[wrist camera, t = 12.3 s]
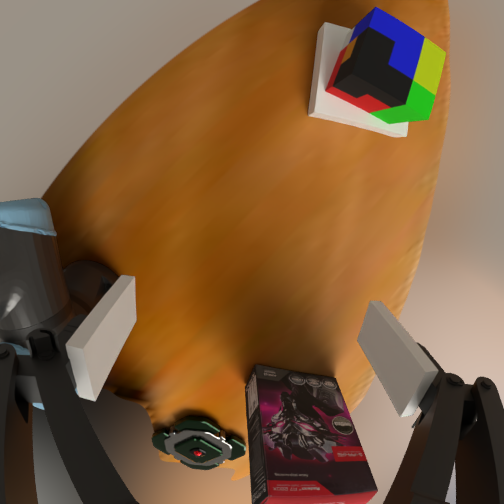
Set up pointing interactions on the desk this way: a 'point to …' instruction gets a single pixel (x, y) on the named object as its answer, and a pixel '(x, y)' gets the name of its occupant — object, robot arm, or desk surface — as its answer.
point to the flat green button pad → (198, 443)
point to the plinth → (331, 105)
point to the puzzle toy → (387, 69)
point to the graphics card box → (303, 441)
